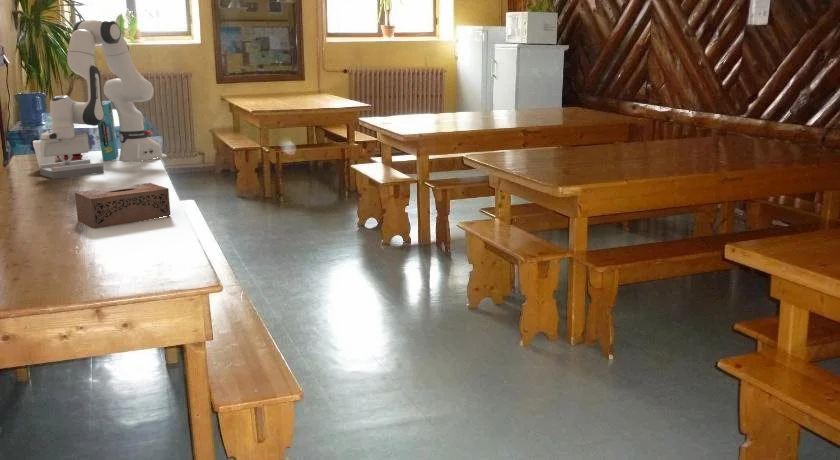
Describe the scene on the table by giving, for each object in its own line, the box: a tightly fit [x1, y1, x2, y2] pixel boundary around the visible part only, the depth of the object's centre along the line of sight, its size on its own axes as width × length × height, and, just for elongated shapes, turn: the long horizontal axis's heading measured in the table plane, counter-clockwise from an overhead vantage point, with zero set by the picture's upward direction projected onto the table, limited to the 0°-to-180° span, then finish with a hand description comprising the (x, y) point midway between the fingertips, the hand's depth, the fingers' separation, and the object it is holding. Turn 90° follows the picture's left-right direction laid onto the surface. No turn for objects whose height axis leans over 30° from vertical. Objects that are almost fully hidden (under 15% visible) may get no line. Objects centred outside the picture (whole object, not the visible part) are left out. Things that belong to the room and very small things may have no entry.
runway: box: [39, 158, 105, 180], centre depth 356 cm, size 22×14×4 cm, turn 135°
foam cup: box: [32, 139, 56, 169], centre depth 367 cm, size 10×9×13 cm
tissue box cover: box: [74, 182, 171, 230], centre depth 270 cm, size 26×14×10 cm, turn 132°
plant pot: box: [56, 153, 84, 161], centre depth 396 cm, size 13×13×12 cm
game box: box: [97, 100, 120, 162], centre depth 399 cm, size 20×6×27 cm, turn 17°
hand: (66, 165), depth 355 cm, fingers closed
